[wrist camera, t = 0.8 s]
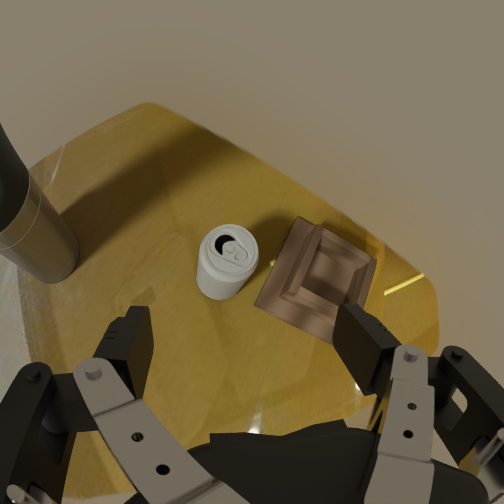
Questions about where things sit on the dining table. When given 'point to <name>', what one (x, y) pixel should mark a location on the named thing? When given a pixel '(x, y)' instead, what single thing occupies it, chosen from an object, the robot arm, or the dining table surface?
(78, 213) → the dining table surface
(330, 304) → the well
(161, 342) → the dining table surface
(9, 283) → the dining table surface
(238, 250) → the beverage can
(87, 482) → the dining table surface
